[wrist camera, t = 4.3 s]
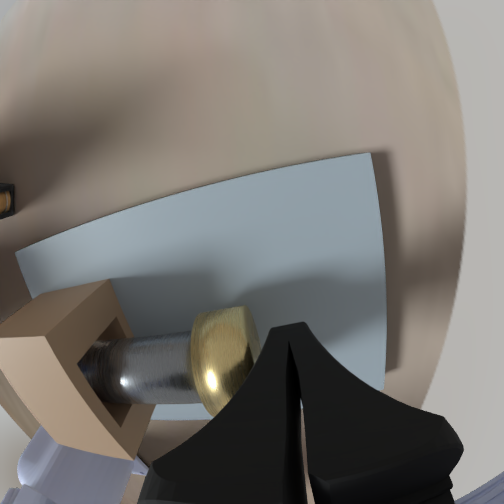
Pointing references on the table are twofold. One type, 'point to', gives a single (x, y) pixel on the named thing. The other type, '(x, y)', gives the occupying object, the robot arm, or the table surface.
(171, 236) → the mounting board
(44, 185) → the table surface
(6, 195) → the ammunition clip
